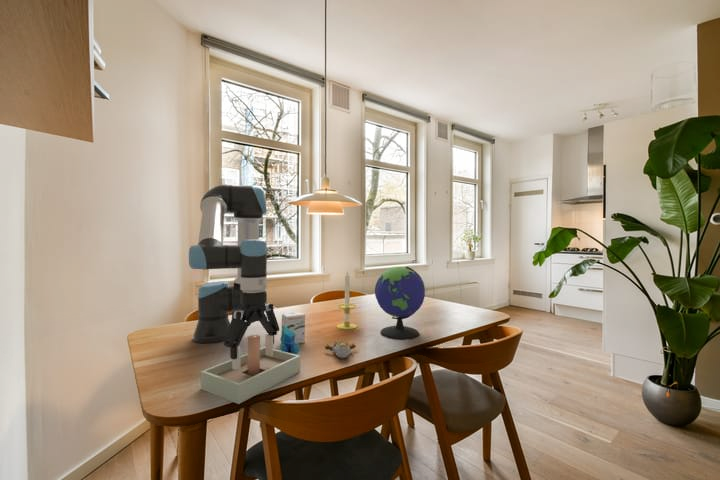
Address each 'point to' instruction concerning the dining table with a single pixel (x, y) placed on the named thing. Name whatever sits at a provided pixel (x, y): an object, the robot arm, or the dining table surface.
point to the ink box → (295, 325)
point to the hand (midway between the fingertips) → (253, 362)
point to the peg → (253, 355)
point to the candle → (346, 308)
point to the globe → (400, 299)
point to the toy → (341, 349)
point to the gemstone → (288, 341)
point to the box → (249, 376)
